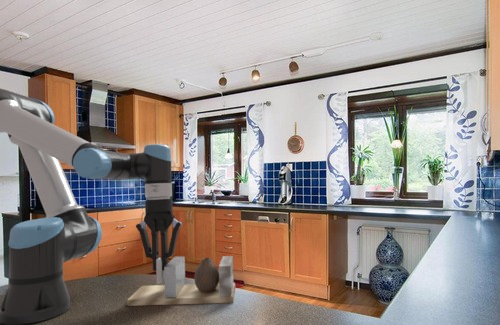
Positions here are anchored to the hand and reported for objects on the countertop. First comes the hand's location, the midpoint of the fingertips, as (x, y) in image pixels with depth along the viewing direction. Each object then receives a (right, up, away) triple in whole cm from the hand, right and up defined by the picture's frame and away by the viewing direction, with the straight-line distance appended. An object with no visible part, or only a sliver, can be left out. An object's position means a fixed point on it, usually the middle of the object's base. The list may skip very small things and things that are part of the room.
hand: (160, 282), depth 92 cm
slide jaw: (+4, -2, 0) cm, 5 cm away
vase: (+13, -2, 0) cm, 13 cm away
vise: (+7, -4, 0) cm, 8 cm away
